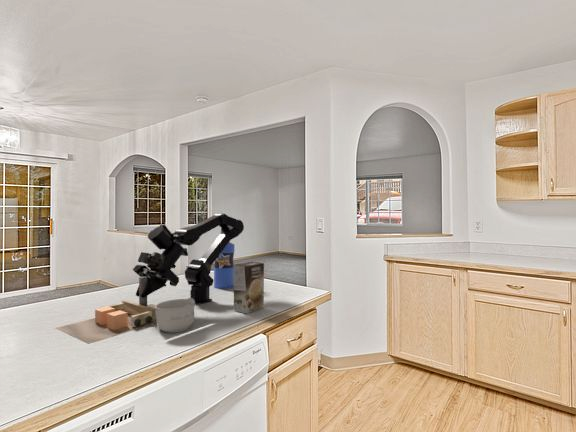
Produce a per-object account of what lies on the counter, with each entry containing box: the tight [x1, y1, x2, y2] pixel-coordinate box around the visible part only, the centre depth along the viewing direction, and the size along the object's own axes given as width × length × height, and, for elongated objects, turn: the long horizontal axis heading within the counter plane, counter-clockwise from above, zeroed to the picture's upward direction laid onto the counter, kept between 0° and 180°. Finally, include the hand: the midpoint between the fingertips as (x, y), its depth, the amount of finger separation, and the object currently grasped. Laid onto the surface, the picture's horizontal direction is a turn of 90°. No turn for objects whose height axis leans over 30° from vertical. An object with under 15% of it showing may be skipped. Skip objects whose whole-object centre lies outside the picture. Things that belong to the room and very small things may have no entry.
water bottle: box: [213, 232, 235, 290], centre depth 155 cm, size 9×9×25 cm
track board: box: [55, 303, 157, 345], centre depth 106 cm, size 31×20×1 cm, turn 145°
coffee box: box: [233, 261, 265, 314], centre depth 120 cm, size 9×6×16 cm
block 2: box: [107, 310, 128, 330], centre depth 100 cm, size 4×4×4 cm
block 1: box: [94, 306, 115, 325], centre depth 104 cm, size 4×4×4 cm
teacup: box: [155, 297, 196, 334], centre depth 101 cm, size 14×11×8 cm
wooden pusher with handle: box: [105, 276, 156, 327], centre depth 108 cm, size 10×18×12 cm, turn 55°
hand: (139, 296), depth 110 cm, fingers closed on wooden pusher with handle, 2 cm apart
